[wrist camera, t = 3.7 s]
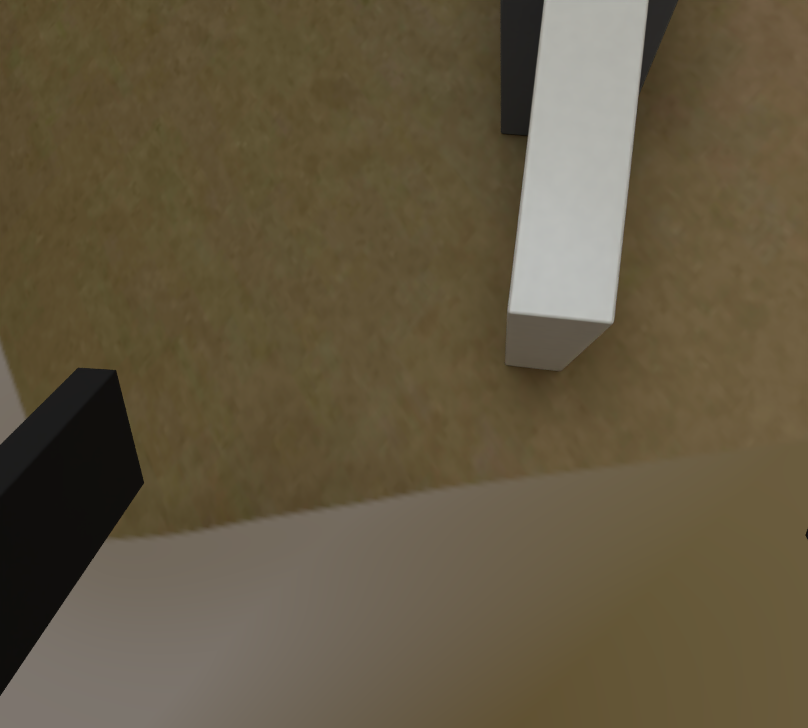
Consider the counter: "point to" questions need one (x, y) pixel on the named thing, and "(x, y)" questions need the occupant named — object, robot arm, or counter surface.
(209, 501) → the counter surface
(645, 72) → the grey books
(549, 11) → the cream book
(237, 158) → the counter surface
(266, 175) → the counter surface
